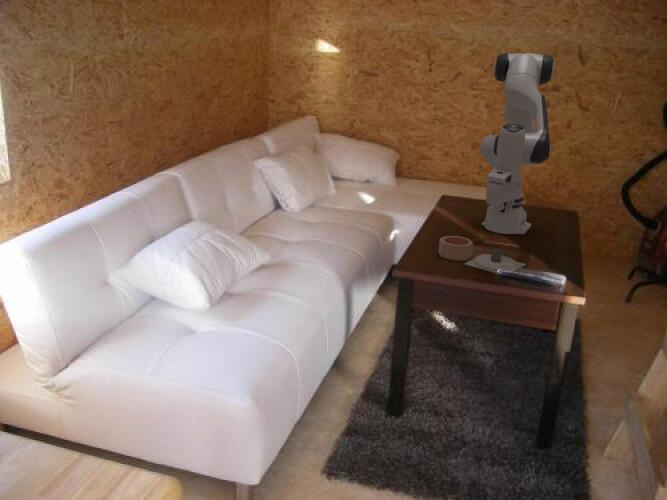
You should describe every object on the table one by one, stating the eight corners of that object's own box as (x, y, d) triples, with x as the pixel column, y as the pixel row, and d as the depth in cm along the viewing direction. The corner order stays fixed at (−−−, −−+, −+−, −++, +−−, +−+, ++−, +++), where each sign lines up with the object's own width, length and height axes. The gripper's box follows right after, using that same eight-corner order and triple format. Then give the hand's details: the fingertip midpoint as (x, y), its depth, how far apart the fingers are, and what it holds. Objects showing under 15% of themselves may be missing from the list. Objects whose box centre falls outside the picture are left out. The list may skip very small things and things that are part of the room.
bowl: (448, 249, 242) (450, 234, 240) (475, 256, 235) (477, 241, 233) (433, 256, 234) (435, 240, 232) (460, 264, 227) (462, 247, 225)
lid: (486, 254, 236) (487, 241, 234) (522, 264, 228) (524, 250, 226) (468, 263, 226) (469, 249, 224) (505, 274, 218) (507, 259, 216)
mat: (484, 254, 238) (485, 253, 237) (526, 265, 228) (526, 264, 228) (463, 265, 226) (464, 263, 226) (506, 277, 216) (506, 275, 216)
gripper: (511, 168, 226) (506, 206, 230) (484, 176, 211) (479, 217, 215) (528, 171, 222) (523, 210, 227) (502, 179, 207) (497, 221, 211)
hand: (501, 213), depth 221 cm, fingers open, 8 cm apart
